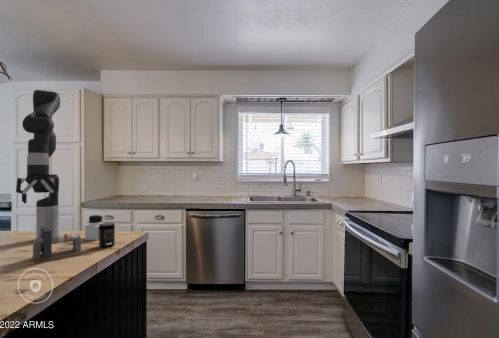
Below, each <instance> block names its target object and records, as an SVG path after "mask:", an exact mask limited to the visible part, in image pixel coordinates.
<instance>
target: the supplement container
mask: <svg viewBox="0 0 499 338" xmlns="http://www.w3.org/2000/svg"><path fill="white" fill-rule="evenodd" d="M115 233H116V223H114V222H104V223H103V222H102V224H99V240H98V247H100V248H103V249H107V248H111V247H114V246H115V244H116V241H115V237H116V234H115Z"/></svg>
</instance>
